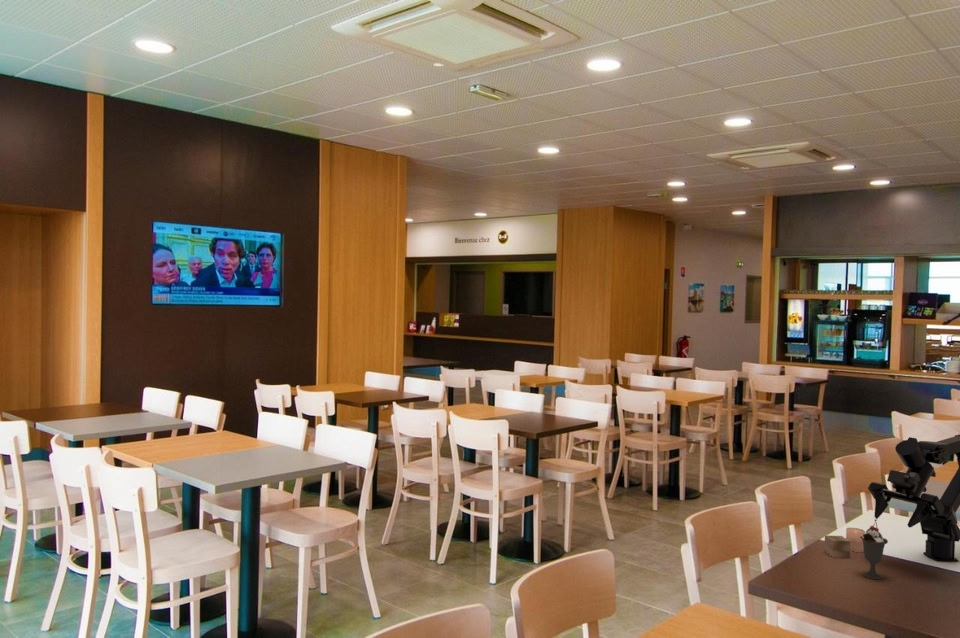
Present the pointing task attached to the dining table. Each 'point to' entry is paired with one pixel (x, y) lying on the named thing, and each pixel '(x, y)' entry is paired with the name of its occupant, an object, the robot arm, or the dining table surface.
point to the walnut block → (837, 546)
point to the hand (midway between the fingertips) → (891, 522)
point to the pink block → (855, 539)
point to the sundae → (873, 550)
